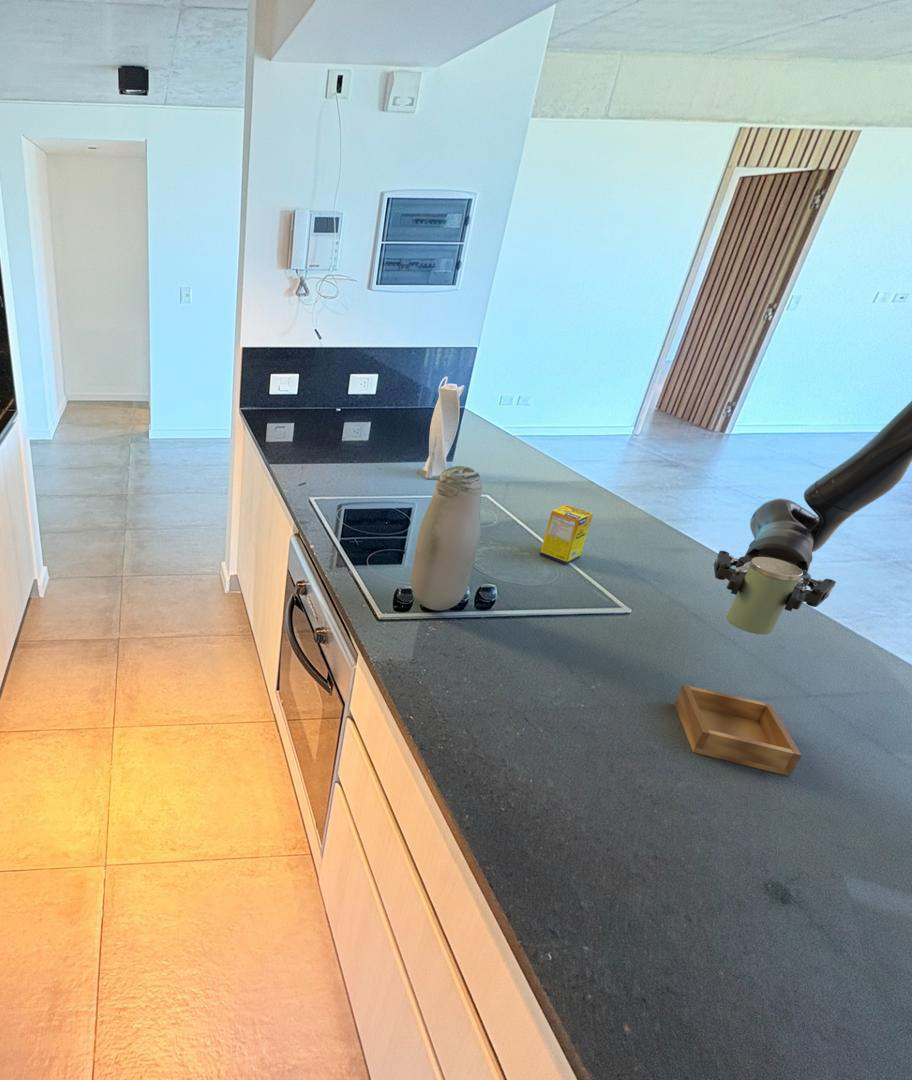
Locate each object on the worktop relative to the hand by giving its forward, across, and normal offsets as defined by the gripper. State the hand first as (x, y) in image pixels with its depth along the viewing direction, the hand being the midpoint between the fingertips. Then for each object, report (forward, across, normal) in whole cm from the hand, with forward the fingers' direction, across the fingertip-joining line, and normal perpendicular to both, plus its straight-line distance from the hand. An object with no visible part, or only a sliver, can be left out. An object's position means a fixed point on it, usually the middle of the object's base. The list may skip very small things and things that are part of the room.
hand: (762, 596), depth 88 cm
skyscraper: (-60, +77, -18) cm, 99 cm away
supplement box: (-31, +33, -18) cm, 48 cm away
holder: (+11, -3, -18) cm, 21 cm away
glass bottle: (+8, +42, -18) cm, 47 cm away
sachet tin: (-3, 0, -6) cm, 7 cm away
